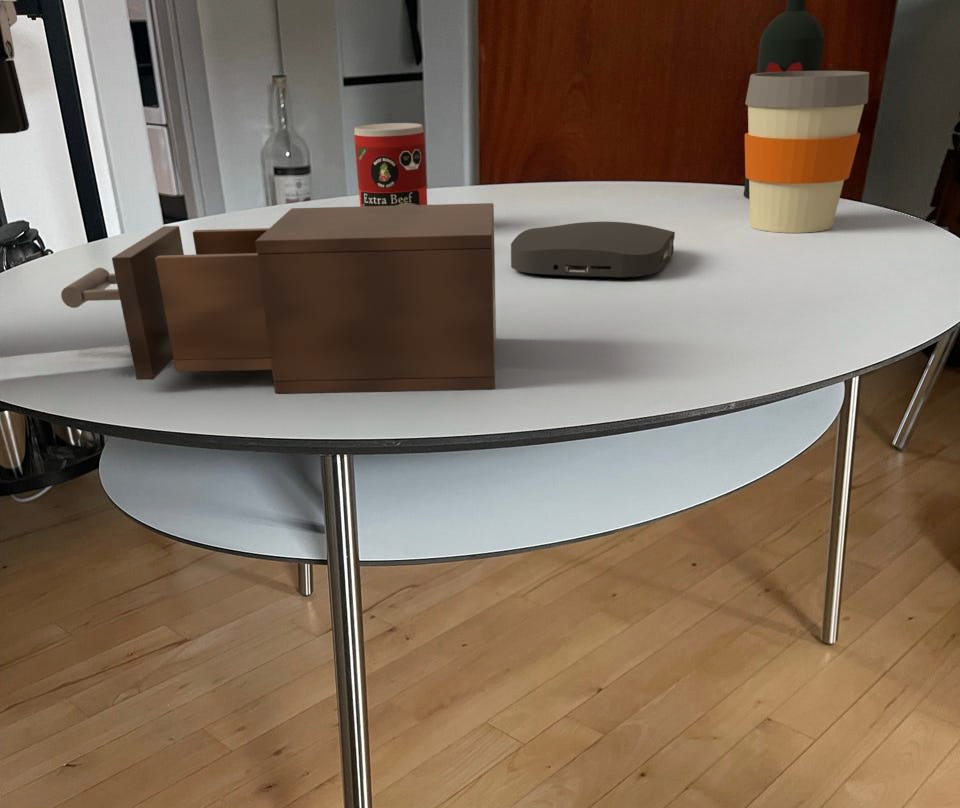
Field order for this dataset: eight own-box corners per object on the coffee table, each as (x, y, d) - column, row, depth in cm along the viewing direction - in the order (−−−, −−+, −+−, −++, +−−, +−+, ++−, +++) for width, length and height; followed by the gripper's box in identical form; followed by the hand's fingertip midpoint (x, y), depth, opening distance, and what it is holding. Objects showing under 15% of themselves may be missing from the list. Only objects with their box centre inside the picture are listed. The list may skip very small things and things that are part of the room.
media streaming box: (540, 247, 108) (540, 216, 107) (679, 251, 104) (681, 220, 103) (500, 276, 97) (500, 243, 95) (655, 283, 93) (657, 248, 91)
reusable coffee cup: (735, 235, 111) (750, 78, 103) (731, 216, 122) (745, 72, 114) (856, 236, 109) (880, 75, 101) (841, 216, 119) (863, 69, 112)
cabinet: (275, 393, 68) (254, 240, 63) (306, 342, 79) (290, 208, 74) (494, 389, 67) (491, 234, 62) (496, 337, 78) (493, 202, 73)
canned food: (355, 238, 116) (346, 130, 110) (371, 226, 122) (363, 123, 117) (421, 238, 115) (416, 129, 109) (434, 225, 121) (429, 122, 116)
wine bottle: (736, 202, 130) (763, -86, 115) (748, 190, 138) (775, -80, 123) (799, 204, 128) (837, -90, 112) (808, 192, 136) (844, -84, 120)
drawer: (63, 381, 68) (34, 259, 64) (118, 336, 78) (95, 227, 74) (337, 376, 68) (325, 252, 64) (358, 331, 78) (348, 221, 73)
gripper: (-92, -209, 63) (-7, 124, 72) (-244, -267, 50) (-116, 148, 60) (28, -216, 62) (98, 120, 72) (-94, -275, 50) (10, 142, 59)
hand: (1, 131), depth 66 cm, fingers closed
